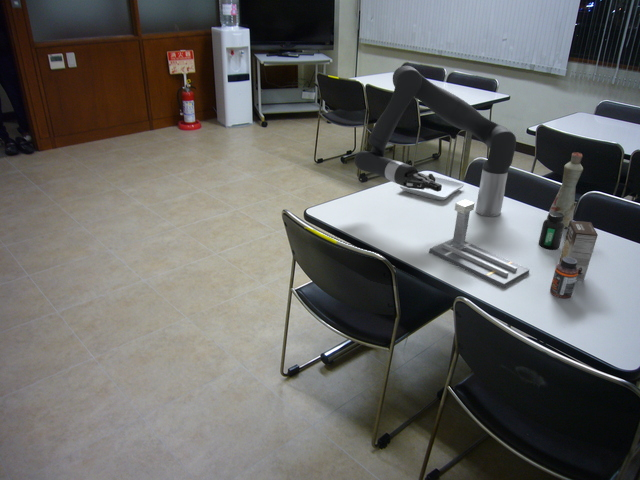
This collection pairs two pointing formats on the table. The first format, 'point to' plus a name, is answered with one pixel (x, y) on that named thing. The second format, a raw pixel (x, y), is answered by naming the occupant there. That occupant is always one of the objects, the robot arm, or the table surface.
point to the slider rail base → (481, 263)
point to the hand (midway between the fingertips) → (440, 188)
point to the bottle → (568, 189)
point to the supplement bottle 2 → (564, 278)
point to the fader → (461, 223)
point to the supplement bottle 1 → (552, 231)
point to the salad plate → (446, 191)
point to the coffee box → (579, 245)
